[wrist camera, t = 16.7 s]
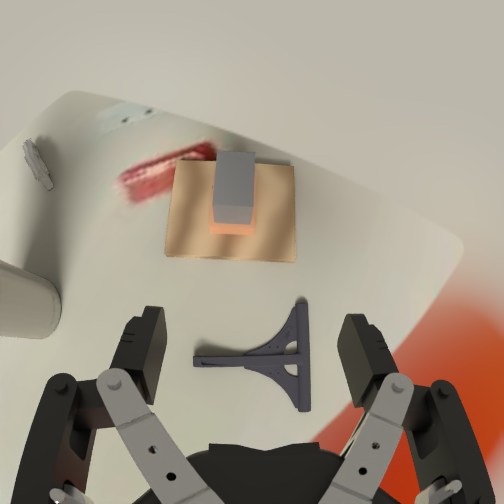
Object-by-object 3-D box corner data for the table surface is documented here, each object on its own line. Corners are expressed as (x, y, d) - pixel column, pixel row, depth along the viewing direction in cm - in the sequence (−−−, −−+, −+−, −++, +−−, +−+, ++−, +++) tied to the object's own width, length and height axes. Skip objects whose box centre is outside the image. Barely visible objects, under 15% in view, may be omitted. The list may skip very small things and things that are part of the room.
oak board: (166, 256, 41) (164, 253, 39) (178, 165, 45) (177, 160, 43) (293, 262, 42) (295, 259, 40) (291, 171, 46) (293, 166, 44)
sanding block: (210, 233, 41) (206, 208, 33) (215, 179, 43) (212, 146, 35) (253, 235, 41) (258, 211, 33) (255, 181, 43) (260, 149, 35)
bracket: (194, 306, 40) (191, 303, 37) (306, 304, 41) (311, 302, 38) (196, 412, 36) (194, 418, 34) (308, 408, 37) (314, 413, 35)
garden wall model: (30, 151, 44) (15, 134, 39) (37, 145, 45) (23, 128, 39) (48, 193, 42) (31, 176, 37) (56, 186, 43) (40, 169, 37)
